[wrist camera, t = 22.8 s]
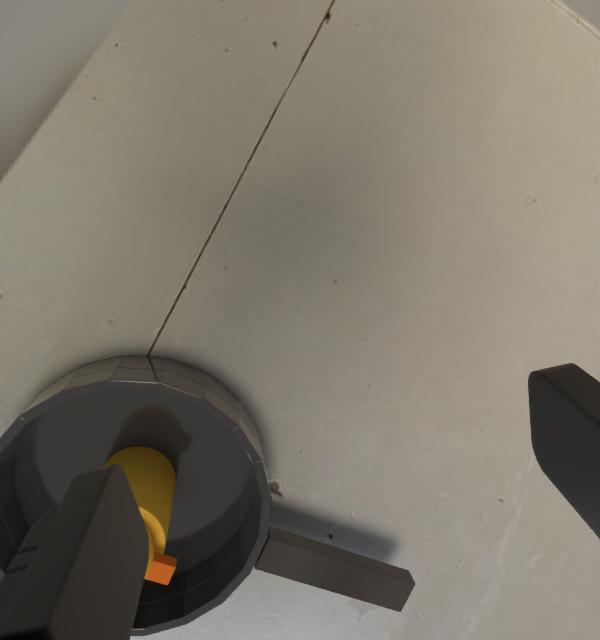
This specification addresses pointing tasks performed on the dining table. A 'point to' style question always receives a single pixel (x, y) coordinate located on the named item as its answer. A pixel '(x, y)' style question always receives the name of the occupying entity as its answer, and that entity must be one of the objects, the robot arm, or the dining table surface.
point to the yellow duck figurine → (151, 502)
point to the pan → (167, 438)
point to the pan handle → (334, 569)
